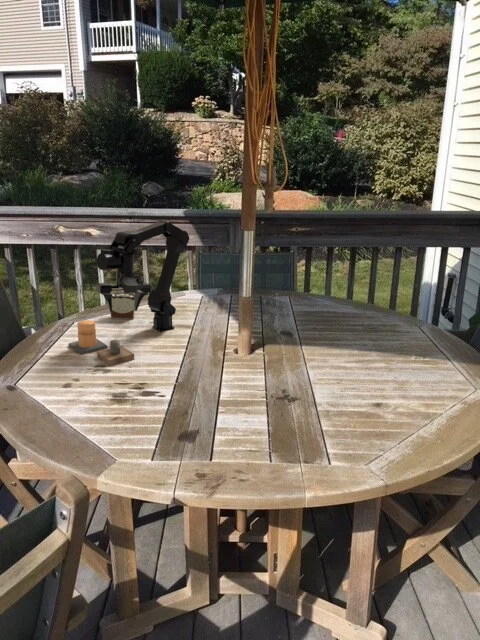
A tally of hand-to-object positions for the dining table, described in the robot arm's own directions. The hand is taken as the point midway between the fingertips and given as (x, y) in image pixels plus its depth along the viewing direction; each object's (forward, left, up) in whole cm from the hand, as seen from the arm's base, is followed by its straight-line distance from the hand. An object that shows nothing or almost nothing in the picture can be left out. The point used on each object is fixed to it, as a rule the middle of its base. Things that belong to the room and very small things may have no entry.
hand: (123, 311), depth 192 cm
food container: (-14, -26, -12) cm, 31 cm away
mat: (+13, -3, -11) cm, 18 cm away
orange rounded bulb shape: (+13, -3, -10) cm, 17 cm away
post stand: (+10, +12, -12) cm, 20 cm away
